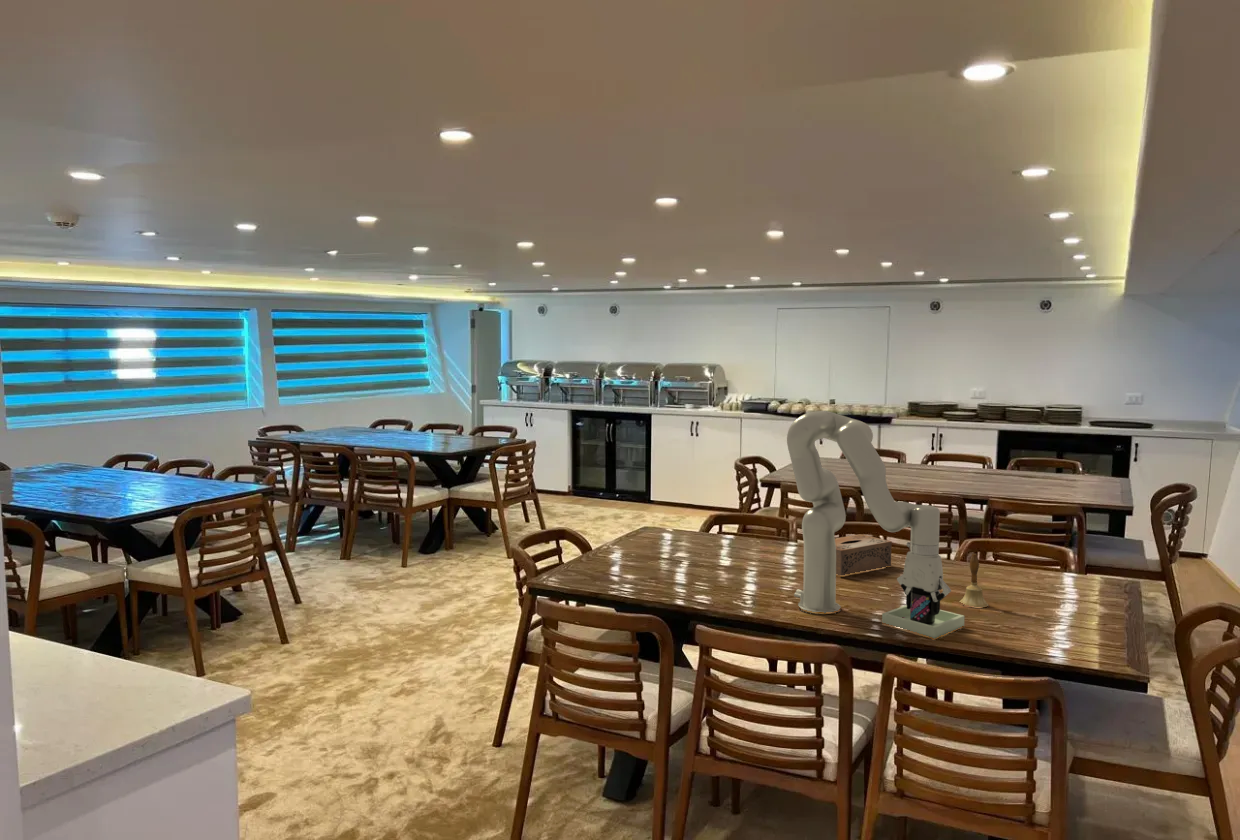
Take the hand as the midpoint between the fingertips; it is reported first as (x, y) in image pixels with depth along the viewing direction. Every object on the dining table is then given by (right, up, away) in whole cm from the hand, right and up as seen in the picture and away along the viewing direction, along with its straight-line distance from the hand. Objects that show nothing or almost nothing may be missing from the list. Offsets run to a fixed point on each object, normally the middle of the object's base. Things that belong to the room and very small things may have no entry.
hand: (922, 610), depth 231 cm
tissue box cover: (-2, 0, +64) cm, 64 cm away
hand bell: (+23, -3, +21) cm, 31 cm away
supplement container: (0, -3, 0) cm, 3 cm away
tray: (0, -5, 0) cm, 5 cm away
